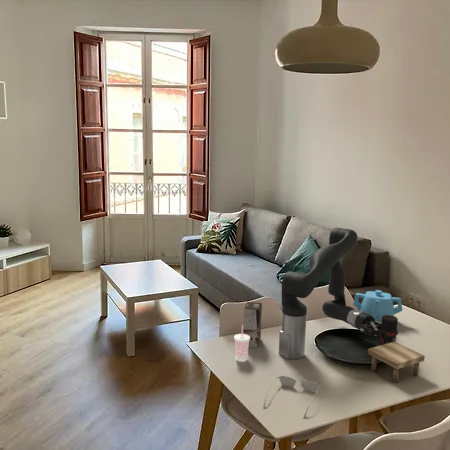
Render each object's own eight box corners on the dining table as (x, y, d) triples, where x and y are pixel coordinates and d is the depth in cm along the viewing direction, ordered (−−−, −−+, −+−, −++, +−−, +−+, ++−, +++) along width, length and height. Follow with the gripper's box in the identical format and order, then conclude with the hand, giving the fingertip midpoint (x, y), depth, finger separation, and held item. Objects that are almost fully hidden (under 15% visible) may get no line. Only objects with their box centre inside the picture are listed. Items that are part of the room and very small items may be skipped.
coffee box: (258, 347, 215) (259, 309, 211) (242, 346, 216) (243, 308, 213) (261, 338, 223) (262, 302, 220) (246, 337, 225) (247, 301, 221)
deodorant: (392, 358, 208) (395, 321, 205) (377, 354, 211) (380, 318, 208) (396, 352, 213) (399, 317, 210) (381, 349, 216) (384, 314, 213)
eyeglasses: (320, 394, 180) (321, 383, 179) (306, 421, 164) (307, 409, 163) (277, 384, 186) (277, 374, 185) (259, 409, 170) (260, 398, 169)
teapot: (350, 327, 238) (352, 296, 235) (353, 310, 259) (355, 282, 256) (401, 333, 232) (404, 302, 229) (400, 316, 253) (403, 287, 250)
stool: (395, 385, 186) (397, 363, 185) (366, 368, 198) (368, 348, 197) (422, 376, 193) (424, 355, 192) (393, 360, 205) (394, 341, 204)
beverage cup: (252, 360, 203) (253, 325, 201) (238, 363, 200) (239, 328, 197) (243, 354, 208) (244, 320, 206) (230, 357, 205) (231, 323, 203)
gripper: (348, 314, 219) (379, 329, 204) (373, 309, 226) (405, 322, 212) (347, 331, 220) (377, 347, 206) (372, 325, 227) (403, 340, 213)
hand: (391, 334), depth 209 cm, fingers closed on deodorant, 6 cm apart
